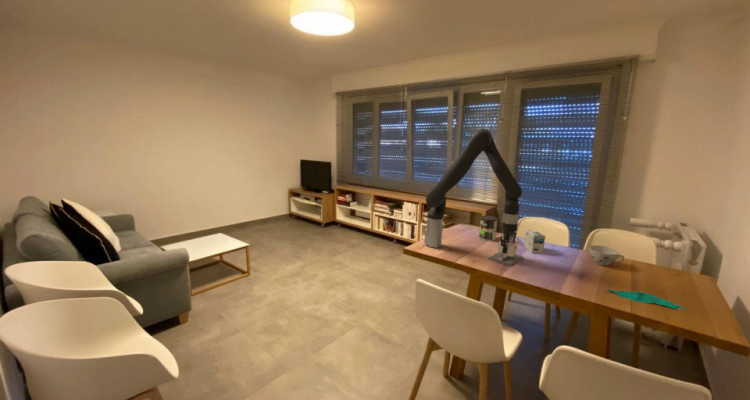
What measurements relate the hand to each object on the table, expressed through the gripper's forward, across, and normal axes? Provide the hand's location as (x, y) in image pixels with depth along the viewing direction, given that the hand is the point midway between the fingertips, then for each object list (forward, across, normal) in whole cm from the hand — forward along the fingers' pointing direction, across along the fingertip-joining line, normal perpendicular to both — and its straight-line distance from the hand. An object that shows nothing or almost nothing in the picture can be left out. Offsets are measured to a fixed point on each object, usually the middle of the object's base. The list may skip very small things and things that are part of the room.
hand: (506, 252), depth 168 cm
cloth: (+5, -4, +58) cm, 58 cm away
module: (+1, 0, 0) cm, 1 cm away
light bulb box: (+4, -26, +4) cm, 27 cm away
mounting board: (+4, 0, 0) cm, 4 cm away
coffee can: (+4, -24, -24) cm, 34 cm away
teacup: (+4, -34, +37) cm, 50 cm away
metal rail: (+4, 0, 0) cm, 4 cm away
